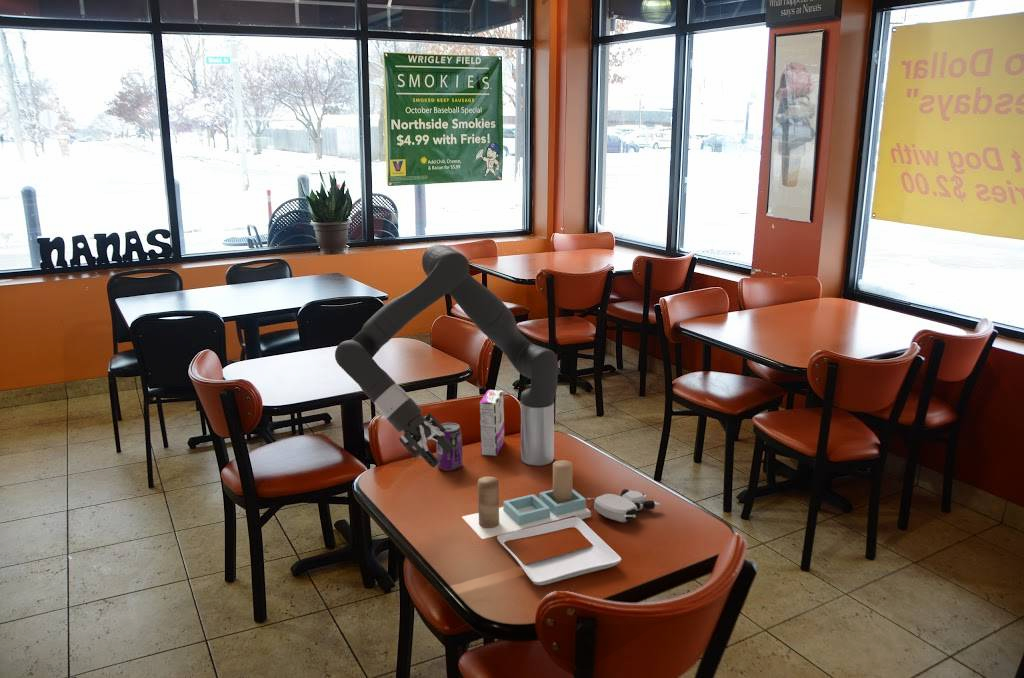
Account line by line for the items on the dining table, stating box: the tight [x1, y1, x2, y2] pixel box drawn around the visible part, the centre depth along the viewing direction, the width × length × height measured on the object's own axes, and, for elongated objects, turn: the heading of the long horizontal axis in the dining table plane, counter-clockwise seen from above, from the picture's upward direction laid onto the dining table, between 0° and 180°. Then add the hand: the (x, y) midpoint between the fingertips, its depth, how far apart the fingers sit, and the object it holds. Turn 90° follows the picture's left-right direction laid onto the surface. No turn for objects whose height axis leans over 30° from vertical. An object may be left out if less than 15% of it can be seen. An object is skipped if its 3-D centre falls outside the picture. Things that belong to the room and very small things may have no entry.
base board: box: [461, 459, 592, 540], centre depth 196 cm, size 12×29×12 cm, turn 116°
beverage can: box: [435, 422, 464, 471], centre depth 226 cm, size 7×7×12 cm
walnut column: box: [477, 476, 500, 528], centre depth 191 cm, size 5×5×11 cm
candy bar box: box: [479, 389, 506, 457], centre depth 237 cm, size 11×5×16 cm, turn 168°
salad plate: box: [496, 516, 622, 586], centre depth 180 cm, size 21×21×3 cm
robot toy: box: [587, 488, 661, 523], centre depth 200 cm, size 12×4×15 cm
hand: (443, 457), depth 192 cm, fingers open, 8 cm apart
